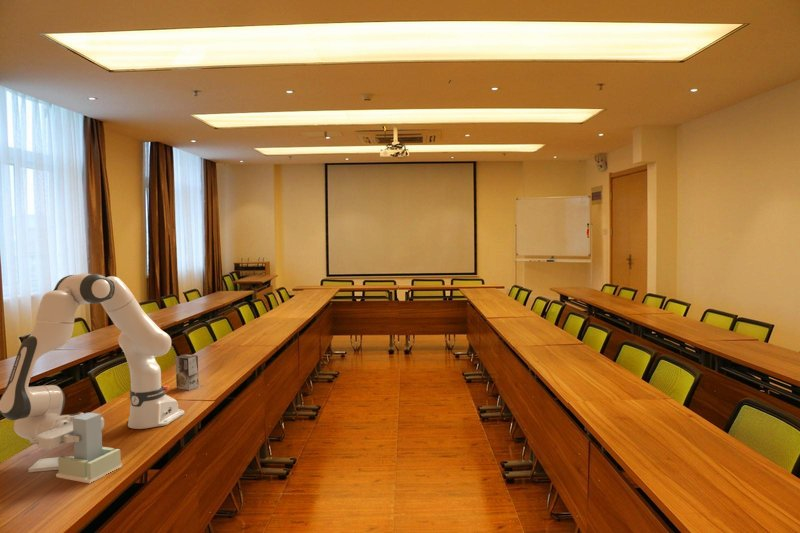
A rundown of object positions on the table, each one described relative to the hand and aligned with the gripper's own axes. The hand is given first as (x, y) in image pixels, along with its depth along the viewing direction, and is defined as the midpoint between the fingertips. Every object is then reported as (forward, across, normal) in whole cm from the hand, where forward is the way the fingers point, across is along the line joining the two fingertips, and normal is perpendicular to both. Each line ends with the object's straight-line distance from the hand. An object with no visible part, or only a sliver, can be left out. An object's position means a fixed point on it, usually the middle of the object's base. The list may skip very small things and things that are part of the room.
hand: (89, 434), depth 162 cm
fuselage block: (-1, 0, +8) cm, 8 cm away
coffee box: (-36, +85, +12) cm, 93 cm away
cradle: (-1, 0, +12) cm, 12 cm away
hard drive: (-16, +1, +13) cm, 21 cm away
